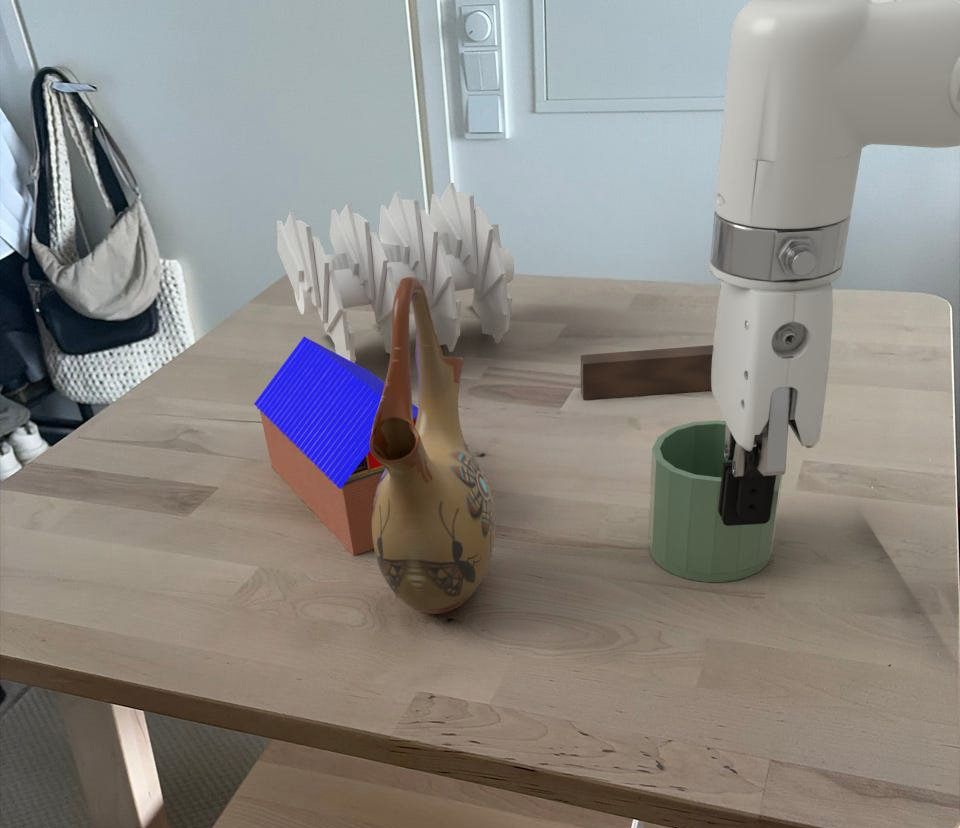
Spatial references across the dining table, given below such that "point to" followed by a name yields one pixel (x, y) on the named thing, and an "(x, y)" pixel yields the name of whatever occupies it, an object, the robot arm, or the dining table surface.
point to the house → (326, 438)
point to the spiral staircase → (401, 266)
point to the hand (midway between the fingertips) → (743, 518)
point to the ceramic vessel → (427, 473)
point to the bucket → (701, 510)
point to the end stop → (646, 372)
